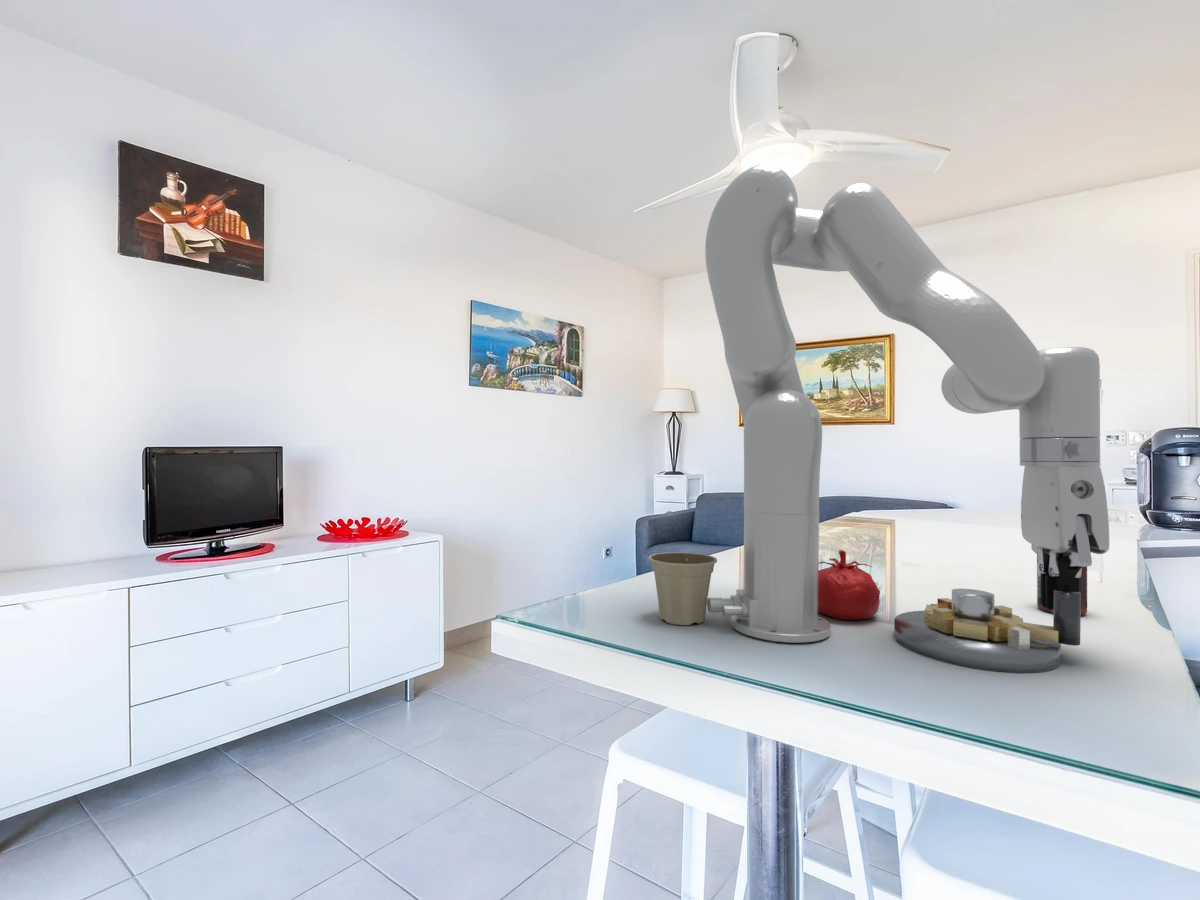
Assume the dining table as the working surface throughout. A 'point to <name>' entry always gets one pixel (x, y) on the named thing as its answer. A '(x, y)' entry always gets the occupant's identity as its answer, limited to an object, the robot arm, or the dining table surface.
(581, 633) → the dining table surface
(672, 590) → the flower pot
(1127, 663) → the dining table surface
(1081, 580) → the supplement bottle
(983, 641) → the dark oval platter
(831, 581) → the pomegranate
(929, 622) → the gold segmented ring
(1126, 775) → the dining table surface
